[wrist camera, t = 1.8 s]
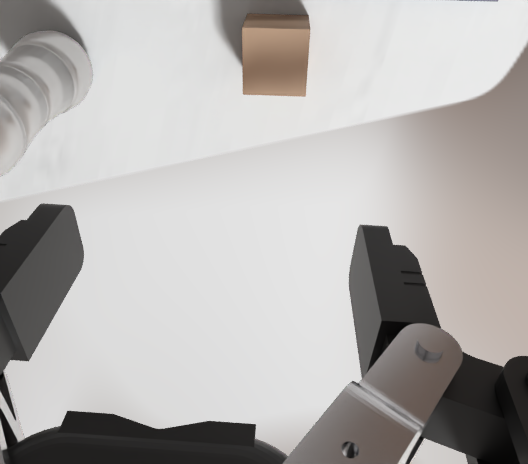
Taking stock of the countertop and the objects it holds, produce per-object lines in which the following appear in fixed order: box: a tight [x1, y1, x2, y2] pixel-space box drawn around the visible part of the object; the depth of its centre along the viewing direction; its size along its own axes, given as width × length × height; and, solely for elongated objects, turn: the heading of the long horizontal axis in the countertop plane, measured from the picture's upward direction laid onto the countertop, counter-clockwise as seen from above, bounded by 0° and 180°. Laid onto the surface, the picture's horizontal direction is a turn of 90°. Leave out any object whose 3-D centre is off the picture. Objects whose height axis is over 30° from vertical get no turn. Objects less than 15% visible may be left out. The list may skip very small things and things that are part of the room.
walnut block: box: [242, 14, 310, 96], centre depth 37 cm, size 5×5×5 cm
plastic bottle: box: [0, 30, 93, 176], centre depth 33 cm, size 6×7×20 cm
